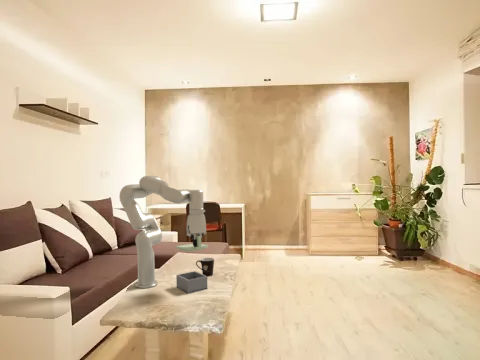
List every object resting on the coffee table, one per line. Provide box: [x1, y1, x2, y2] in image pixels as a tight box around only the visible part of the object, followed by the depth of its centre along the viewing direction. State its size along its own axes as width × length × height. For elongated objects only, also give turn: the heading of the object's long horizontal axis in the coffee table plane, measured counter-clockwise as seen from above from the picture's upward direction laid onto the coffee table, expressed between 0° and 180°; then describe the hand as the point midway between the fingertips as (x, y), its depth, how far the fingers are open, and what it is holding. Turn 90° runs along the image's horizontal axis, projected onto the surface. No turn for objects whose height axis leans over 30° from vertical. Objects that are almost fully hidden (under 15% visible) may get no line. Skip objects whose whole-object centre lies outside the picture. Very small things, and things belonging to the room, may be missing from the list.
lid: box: [175, 235, 209, 253], centre depth 183 cm, size 17×13×8 cm
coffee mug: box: [195, 257, 215, 277], centre depth 211 cm, size 12×9×10 cm
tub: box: [175, 270, 208, 295], centre depth 185 cm, size 14×12×7 cm
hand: (196, 245), depth 180 cm, fingers closed on lid, 1 cm apart
